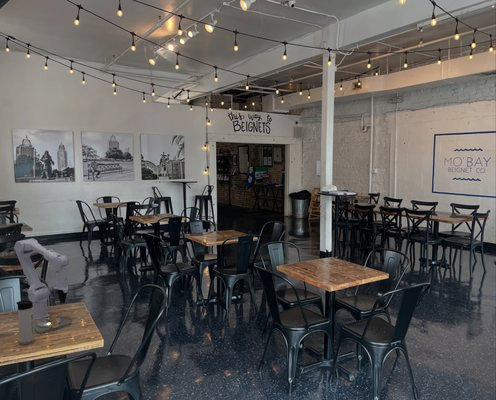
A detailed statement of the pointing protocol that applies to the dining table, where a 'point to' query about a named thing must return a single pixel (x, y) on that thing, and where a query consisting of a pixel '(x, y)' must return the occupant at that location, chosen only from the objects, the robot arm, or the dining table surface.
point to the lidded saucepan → (49, 322)
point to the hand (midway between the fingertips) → (62, 302)
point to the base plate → (47, 329)
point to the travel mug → (26, 322)
